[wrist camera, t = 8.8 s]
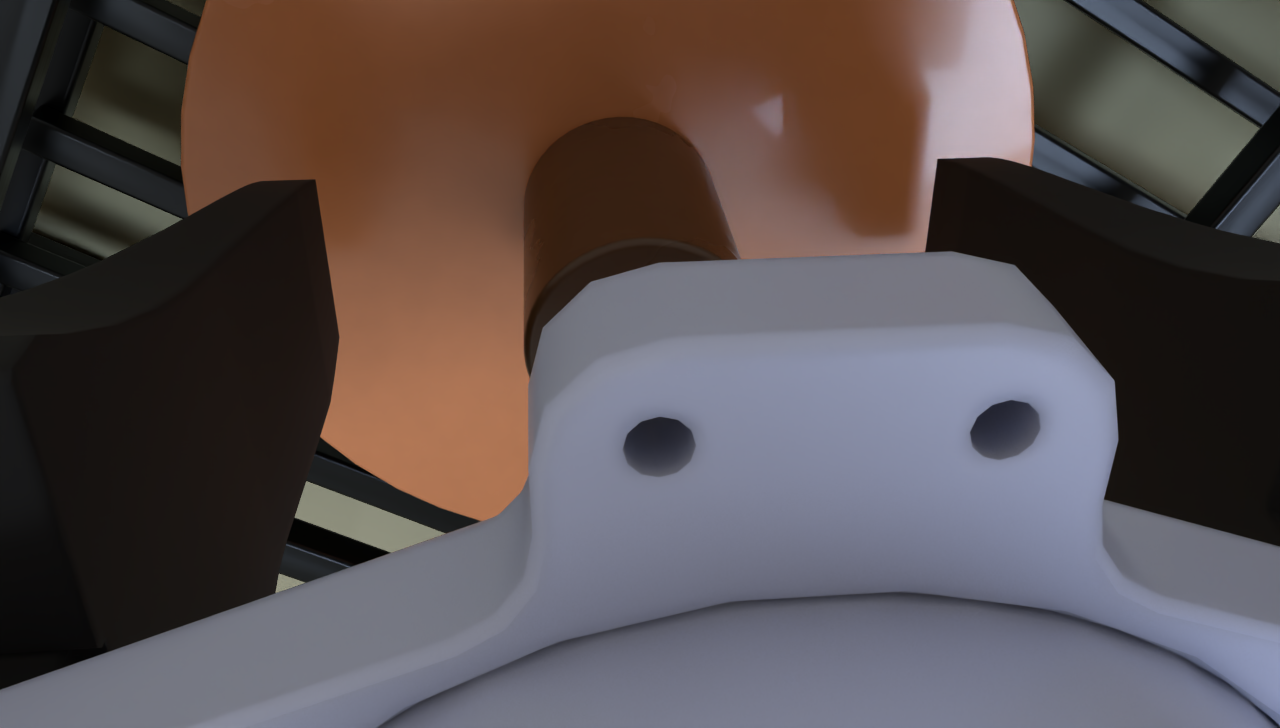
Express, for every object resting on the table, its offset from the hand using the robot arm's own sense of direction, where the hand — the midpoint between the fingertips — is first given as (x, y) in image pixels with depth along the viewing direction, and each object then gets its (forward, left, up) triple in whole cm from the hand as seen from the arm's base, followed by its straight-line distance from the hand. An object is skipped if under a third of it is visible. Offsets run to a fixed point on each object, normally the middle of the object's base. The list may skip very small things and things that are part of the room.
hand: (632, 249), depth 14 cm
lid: (0, 0, -2) cm, 2 cm away
